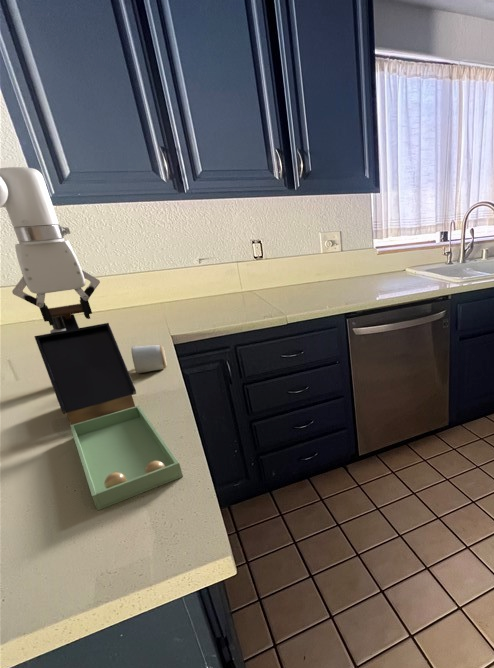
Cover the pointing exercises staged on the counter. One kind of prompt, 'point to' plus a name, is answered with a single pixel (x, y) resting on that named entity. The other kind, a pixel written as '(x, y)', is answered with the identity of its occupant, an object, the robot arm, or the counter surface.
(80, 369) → the pan
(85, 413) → the stand
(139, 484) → the tray
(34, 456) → the counter surface
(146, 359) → the ceramic mug
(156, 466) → the ball
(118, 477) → the ball
